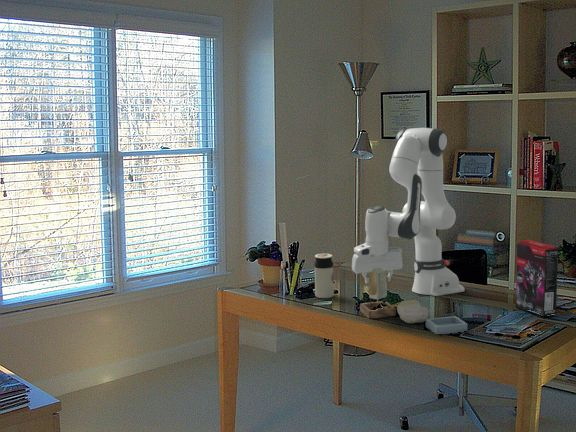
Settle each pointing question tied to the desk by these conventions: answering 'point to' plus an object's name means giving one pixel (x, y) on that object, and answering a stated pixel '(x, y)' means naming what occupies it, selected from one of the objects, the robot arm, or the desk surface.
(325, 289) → the travel mug
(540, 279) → the graphics card box
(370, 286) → the skincare box
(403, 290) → the desk surface
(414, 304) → the fossil replica
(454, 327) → the slate tray
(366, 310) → the tray
